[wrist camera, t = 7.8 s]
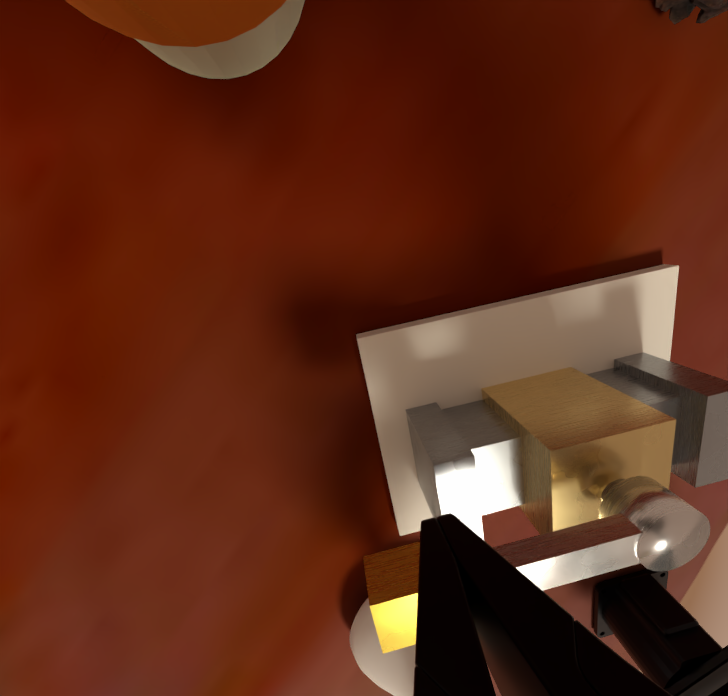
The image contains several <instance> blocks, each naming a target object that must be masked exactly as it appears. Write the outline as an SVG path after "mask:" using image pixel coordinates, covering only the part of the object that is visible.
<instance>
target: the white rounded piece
mask: <svg viewBox="0 0 728 696" xmlns="http://www.w3.org/2000/svg"><path fill="white" fill-rule="evenodd" d="M350 646H351V649H352V652H353V655H354V657H355V659H356V662H357V664H358V666H359V667H360V669H361V670H362V671H363V672H364V674H365V675H367V676H368V677H369V678H370V679H371V680H372V681H373V682H374V683H375V684H377V685H378V686H379V687H381V688H382V689H384V690H386V691H387V692H389V693H390V694H392V695H394V696H413V691H414V668H415V667H416V666H415V648H416V645H412V646H408V647H405V648H401V649H398V650H394V651H391V652H387V653H384V654H383V652H382V649H381V645H380V642H379V638H378V634H377V631H376V627H375V624H374V620H373V617H372V613H371V609H370V605H369V598H367V599H366V600H365V602H364V603H363V604H362V606H361V607H360V609H359V611H358V613H357V615H356V617H355V619H354V621H353V624H352V626H351V631H350Z"/></svg>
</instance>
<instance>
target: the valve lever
mask: <svg viewBox="0 0 728 696" xmlns="http://www.w3.org/2000/svg"><path fill="white" fill-rule="evenodd" d="M601 501H602V502H601V504H600V508H599V519H597V520H593V521H590V522H586V523H582V524H578V525H575V526H571V527H567V528H564V529H560V530H556V531H552V532H549V533H545V534H541V535H538V536H534V537H530V538H527V539H523V540H519V541H515V542H512V543H508V544H504V545H501V546H497V547H493V549H494V550H496V551H497V552H498V553H499V554H500V555H501V556H503V557H504V558H505V559H506V560H507V561H508V562H510V563H511V564H512V565H513V566H514V567H515V568H517V569H518V570H519V571H520V572H521V573H522V574H524V575H525V576H526V577H527V578H528V579H529V580H531V581H532V582H533V583H534V584H535V585H536V586H538V587H539V588H540V589H541V590H542V591H543V590H546V589H550V588H553V587H557V586H561V585H564V584H568V583H571V582H575V581H579V580H582V579H586V578H589V577H593V576H596V575H600V574H604V573H607V572H611V571H614V570H618V569H622V568H625V567H629V566H632V565H636V564H639V563H641V564H642V565H643V566H644V567H646V568H647V569H649V570H652V571H668V570H672V569H675V568H678V567H680V566H682V565H684V564H686V563H687V562H689V561H690V560H691V559H693V558H694V557H695V556H696V555H697V554H698V553H699V552H700V551H701V550H702V548H703V547H704V545H705V544H706V542H707V540H708V537H709V534H710V523H709V521H708V519H707V517H706V516H705V515H703V514H702V513H701V512H699V511H698V510H696V509H695V508H694V507H692V506H691V505H689V504H688V503H687V502H685V501H684V500H682V499H681V498H679V497H678V496H677V495H675V494H674V493H672V492H671V491H670V490H668V489H667V488H665V487H664V486H663V485H661V484H660V483H658V482H657V481H656V480H654V479H652V478H650V477H647V476H635V477H631V478H628V479H618V480H615V481H613V482H611V483H610V484H608V485H607V486H606V487H605V489H604V490H603V492H602V495H601ZM419 552H420V541H419V542H415V543H412V544H408V545H404V546H400V547H397V548H393V549H389V550H385V551H382V552H378V553H374V554H370V555H367V556H363V561H364V568H365V576H366V583H367V591H368V598H369V605H370V609H371V613H372V617H373V620H374V624H375V627H376V631H377V634H378V638H379V642H380V645H381V649H382V652H383V654H384V653H387V652H391V651H394V650H398V649H401V648H405V647H408V646H412V645H416V624H417V600H418V576H419Z"/></svg>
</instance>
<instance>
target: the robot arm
mask: <svg viewBox="0 0 728 696" xmlns="http://www.w3.org/2000/svg"><path fill="white" fill-rule="evenodd" d="M667 579H668V572H667V571H652V570H645V571H641V572H638V573H634V574H631V575H627V576H623V577H620V578H616V579H613V580H609V581H606V582H602V583H599V584H598V585H596V587H595V606H594V632H595V634H596V635H597V636H598V637H600V638H601V637H605V636H609V635H612V634H614V635H615V636H616V638H617V639H618V640H619V642H620V643H621V644H622V646H623V647H624V648H625V650H626V651H627V652H628V654H629V655H630V656H631V658H632V659H633V660H634V662H635V663H636V664H637V666H638V667H639V668H640V670H641V671H642V672H643V674H642V673H641V672H640V671H639V670H637V669H636V668H635V667H633V666H632V665H631V664H629V663H628V662H627V661H625V660H624V659H623V658H622V657H620V656H619V655H618V654H617V653H615V652H614V651H613V650H612V649H611V648H609V647H608V646H607V645H606V644H605V643H603V642H602V641H601V640H600V639H598V638H597V637H596V636H595V635H594V634H593V633H591V632H590V631H589V630H588V629H587V628H586V627H584V626H583V625H582V624H581V623H580V622H579V621H577V620H576V621H575V622H574V618H573V616H571V615H570V614H569V613H568V612H567V611H566V610H564V609H563V608H562V607H561V606H560V605H559V604H557V603H556V602H555V601H554V600H553V599H552V598H550V597H549V596H548V595H547V594H546V593H545V592H543V591H542V590H541V589H540V588H539V587H538V586H536V585H535V584H534V583H533V582H532V581H531V580H529V579H528V578H527V577H526V576H525V575H524V574H522V573H521V572H520V571H519V570H518V569H517V568H515V567H514V566H513V565H512V564H511V563H510V562H508V561H507V560H506V559H505V558H504V557H503V556H501V555H500V554H499V553H498V552H497V551H496V550H494V549H493V548H492V547H491V546H490V545H489V544H487V543H486V542H485V541H484V540H483V539H482V538H480V537H479V536H478V535H477V534H476V533H475V532H473V531H472V530H471V529H470V528H469V527H468V526H466V525H465V524H464V523H463V522H462V521H461V520H459V519H458V518H457V517H456V516H455V515H453V514H452V513H448V514H444V515H440V516H438V517H437V519H436V518H435V517H433V518H429V519H425V520H422V521H421V528H420V552H419V576H418V600H417V624H416V648H415V666H416V667H415V668H414V691H413V696H496V694H495V691H494V688H493V684H492V681H491V677H490V674H489V670H488V667H489V669H490V671H491V673H492V676H493V678H494V680H495V682H496V684H497V687H498V689H499V691H500V693H501V695H502V696H728V645H727V646H726V647H725V648H722V647H721V646H720V645H719V644H718V643H717V642H716V641H715V640H714V639H713V638H712V637H711V636H710V635H709V634H708V633H707V632H706V631H705V630H704V629H703V628H702V627H701V626H700V625H699V624H698V622H697V621H696V619H695V618H694V617H693V616H692V615H691V614H690V613H689V612H688V611H687V610H686V609H685V608H684V607H683V606H682V605H681V604H680V603H679V602H678V601H677V600H676V599H675V598H674V597H673V596H672V595H671V594H670V593H669V592H668V591H667V590H666V587H667ZM486 662H487V663H486ZM487 665H488V667H487Z"/></svg>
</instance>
